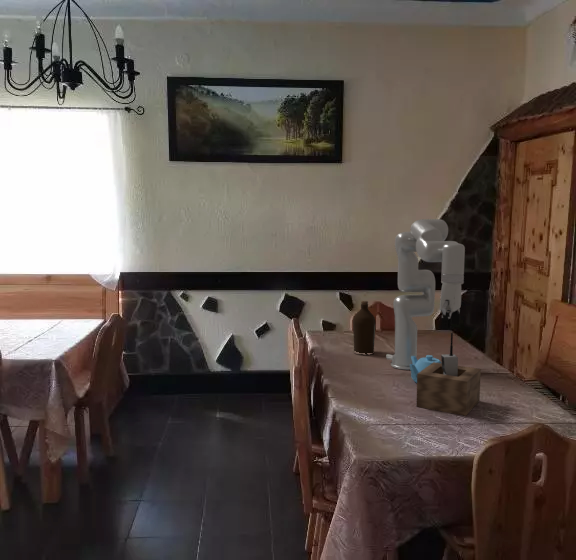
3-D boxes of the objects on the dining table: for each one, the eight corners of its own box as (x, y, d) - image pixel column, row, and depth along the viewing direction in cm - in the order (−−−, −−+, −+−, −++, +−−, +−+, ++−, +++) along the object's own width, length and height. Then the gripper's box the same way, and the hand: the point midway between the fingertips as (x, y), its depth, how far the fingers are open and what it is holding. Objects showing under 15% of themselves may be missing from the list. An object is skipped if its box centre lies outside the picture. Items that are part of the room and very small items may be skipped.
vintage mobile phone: (439, 399, 217) (441, 331, 213) (453, 399, 217) (455, 331, 214) (442, 402, 213) (444, 334, 210) (456, 402, 213) (459, 333, 210)
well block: (416, 406, 212) (417, 373, 211) (432, 392, 227) (433, 362, 225) (465, 415, 203) (467, 381, 201) (479, 401, 218) (480, 369, 216)
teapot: (407, 385, 236) (407, 359, 235) (410, 374, 250) (411, 349, 249) (447, 389, 232) (448, 362, 230) (448, 377, 246) (449, 352, 245)
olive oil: (356, 356, 279) (357, 303, 276) (349, 350, 290) (350, 300, 286) (378, 355, 282) (379, 302, 278) (370, 349, 292) (371, 299, 289)
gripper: (449, 275, 218) (447, 321, 221) (433, 281, 204) (432, 330, 206) (470, 276, 214) (468, 323, 217) (455, 282, 200) (453, 333, 202)
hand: (450, 326), depth 211 cm, fingers open, 9 cm apart
